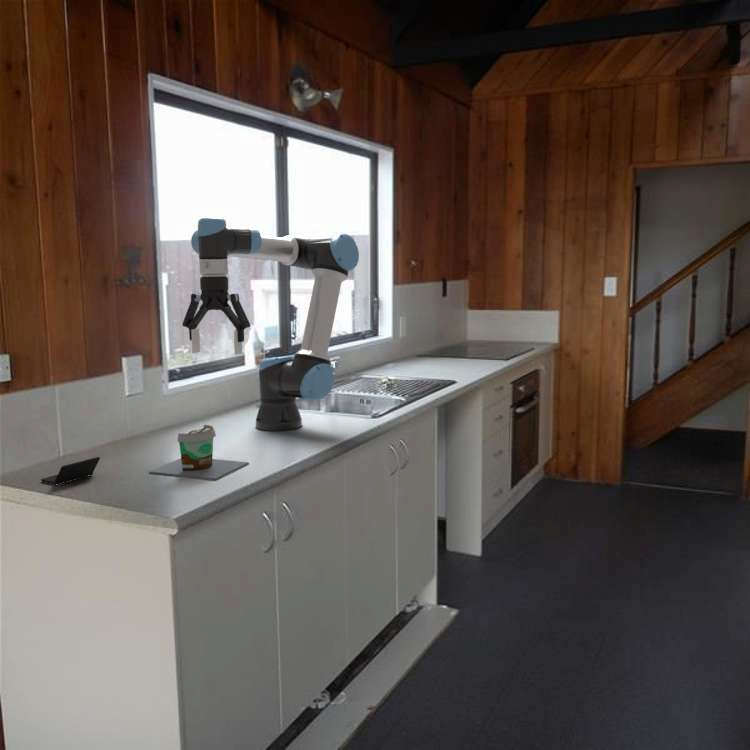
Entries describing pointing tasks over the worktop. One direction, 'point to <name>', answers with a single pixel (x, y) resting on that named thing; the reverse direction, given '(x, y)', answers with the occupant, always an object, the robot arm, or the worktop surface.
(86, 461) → the handheld gaming console
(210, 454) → the food container
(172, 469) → the mat
